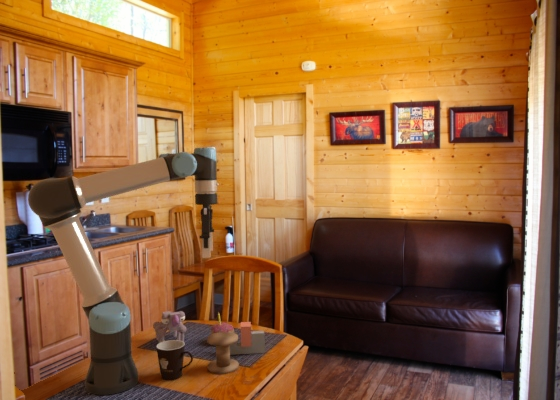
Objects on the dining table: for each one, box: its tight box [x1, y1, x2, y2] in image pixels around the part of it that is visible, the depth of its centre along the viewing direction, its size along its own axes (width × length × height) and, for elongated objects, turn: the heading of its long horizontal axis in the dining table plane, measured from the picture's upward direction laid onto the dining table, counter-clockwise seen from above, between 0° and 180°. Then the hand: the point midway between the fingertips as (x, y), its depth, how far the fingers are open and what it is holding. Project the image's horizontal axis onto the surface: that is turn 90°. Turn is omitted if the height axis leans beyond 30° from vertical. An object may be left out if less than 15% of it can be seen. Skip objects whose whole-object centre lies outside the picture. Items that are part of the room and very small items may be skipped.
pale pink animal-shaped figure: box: [152, 310, 187, 344], centre depth 178 cm, size 20×11×14 cm, turn 27°
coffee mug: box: [156, 339, 194, 382], centre depth 150 cm, size 12×9×10 cm
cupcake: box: [210, 311, 235, 335], centre depth 180 cm, size 9×8×12 cm
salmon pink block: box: [240, 321, 252, 347], centre depth 170 cm, size 4×5×7 cm
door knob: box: [206, 332, 240, 375], centre depth 158 cm, size 10×10×10 cm
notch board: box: [230, 330, 266, 356], centre depth 170 cm, size 14×2×7 cm, turn 95°
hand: (207, 254), depth 169 cm, fingers open, 13 cm apart
